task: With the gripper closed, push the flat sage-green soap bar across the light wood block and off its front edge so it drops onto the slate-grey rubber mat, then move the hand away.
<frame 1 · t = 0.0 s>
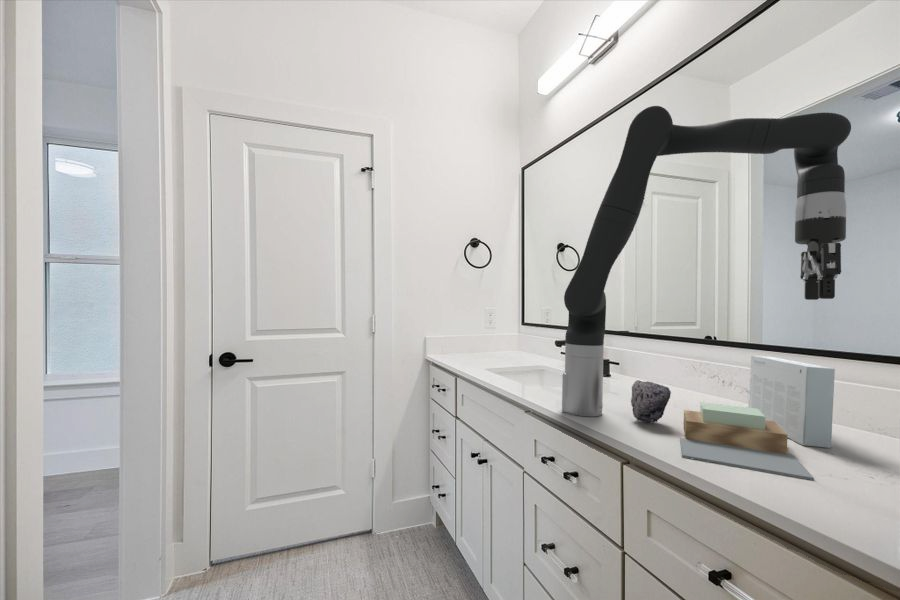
hand: (818, 299, 80), 29 cm above the worktop, tool pointing down, fingers open, 8 cm apart
skincare box: (785, 432, 88), on the worktop
light wood block: (730, 440, 81), on the worktop
soap bar: (730, 421, 81), point 4 cm above the worktop, touching light wood block
mat: (738, 457, 72), on the worktop
pumice stone: (648, 423, 93), on the worktop
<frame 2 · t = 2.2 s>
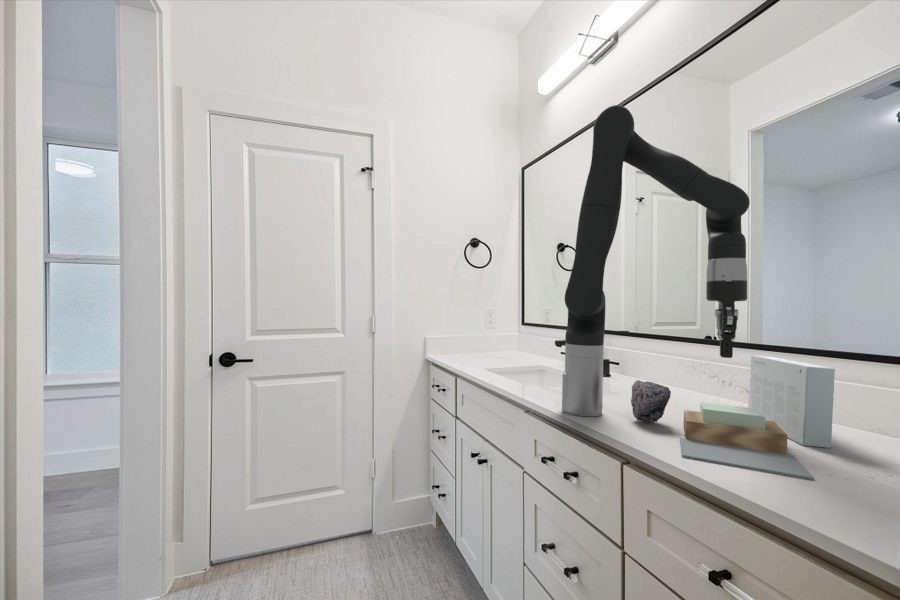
hand: (726, 357, 89), 16 cm above the worktop, tool pointing down, fingers closed
nothing on the worktop moved.
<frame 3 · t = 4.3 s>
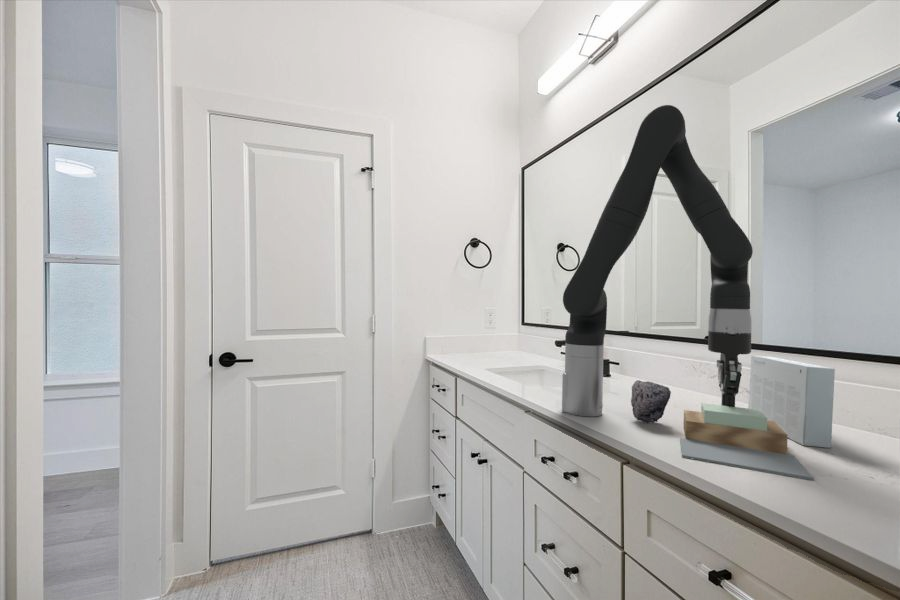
hand: (728, 411, 85), 5 cm above the worktop, tool pointing down, fingers closed
soap bar: (731, 422, 80), point 4 cm above the worktop
everything else where it was.
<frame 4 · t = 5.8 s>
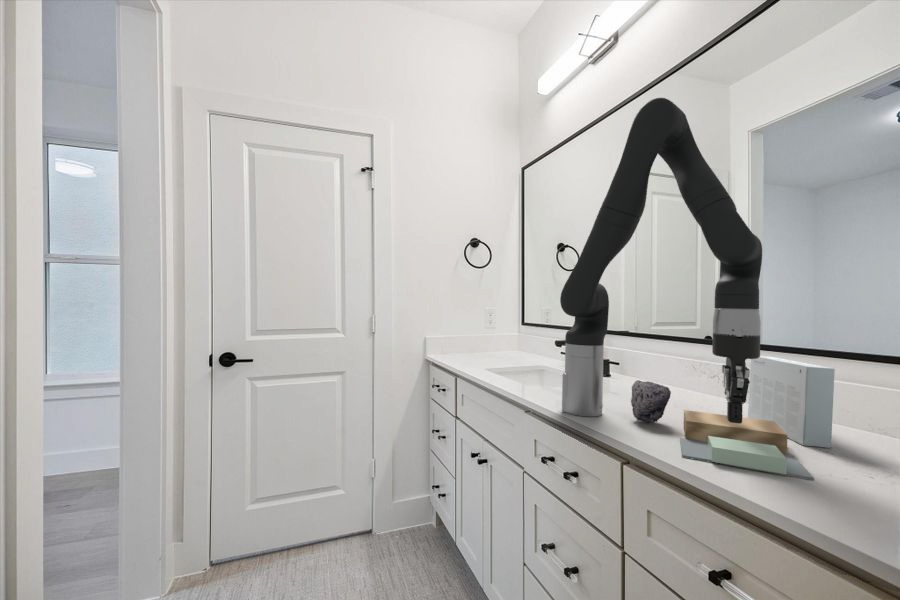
hand: (734, 421, 77), 5 cm above the worktop, tool pointing down, fingers closed
soap bar: (744, 446, 69), point 3 cm above the worktop, tilted 180°, touching mat
everything else where it was.
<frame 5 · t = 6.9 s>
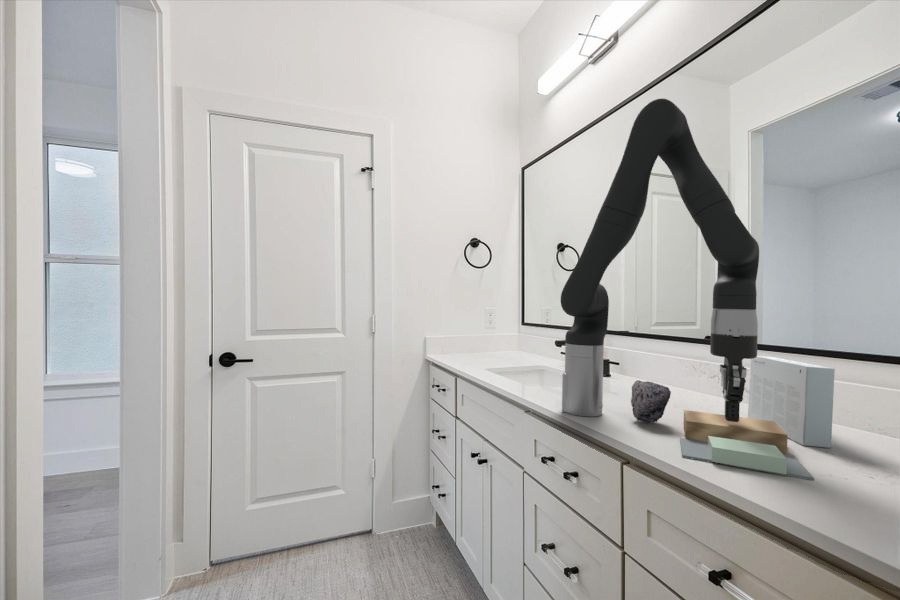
hand: (731, 420, 78), 5 cm above the worktop, tool pointing down, fingers closed
nothing on the worktop moved.
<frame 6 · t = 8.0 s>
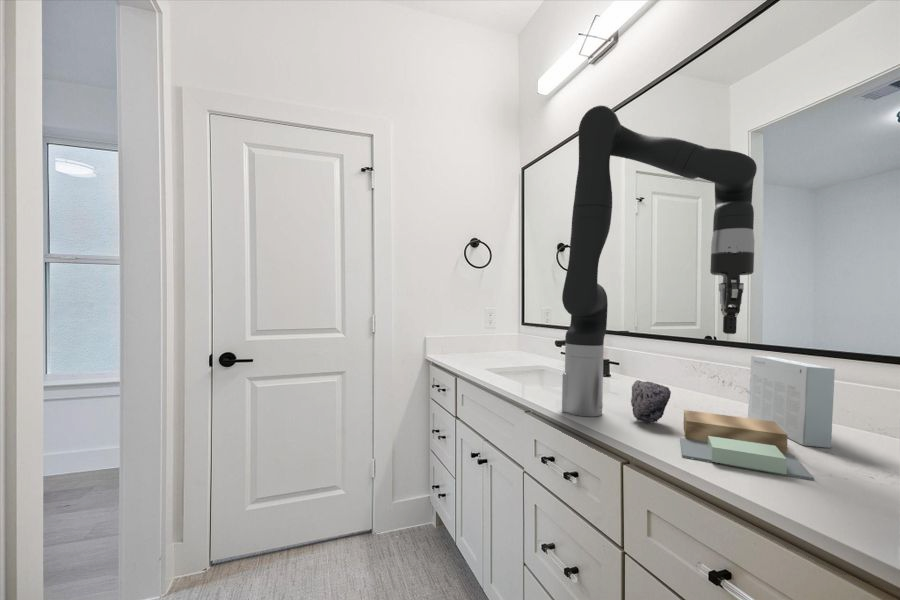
hand: (729, 333, 85), 22 cm above the worktop, tool pointing down, fingers closed
nothing on the worktop moved.
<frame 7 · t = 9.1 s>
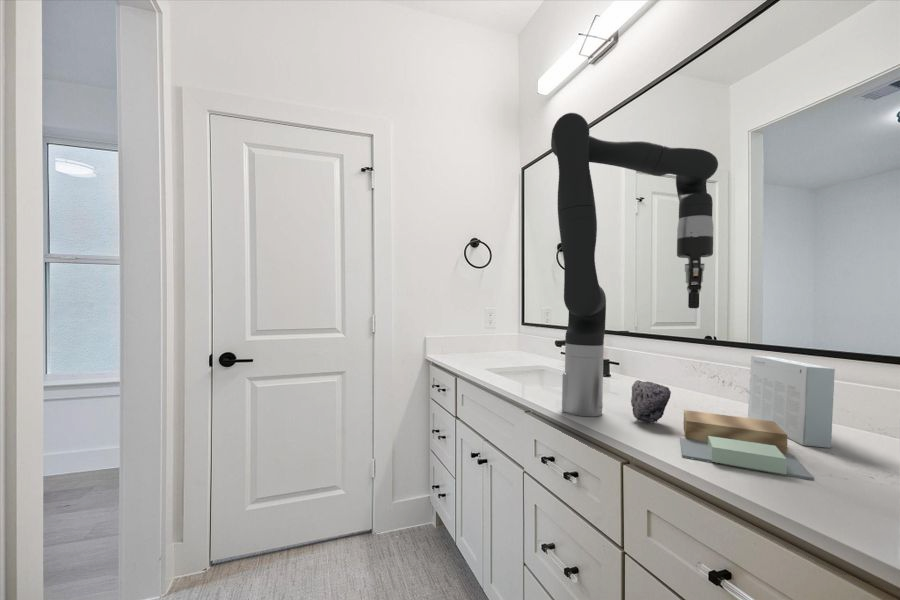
hand: (693, 308, 97), 27 cm above the worktop, tool pointing down, fingers closed
nothing on the worktop moved.
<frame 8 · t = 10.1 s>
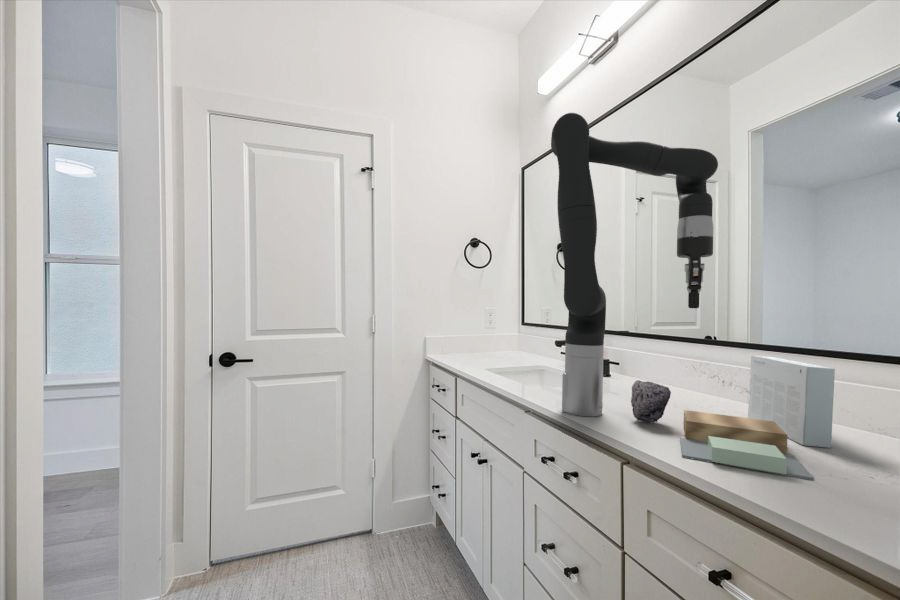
hand: (693, 308, 97), 27 cm above the worktop, tool pointing down, fingers closed
nothing on the worktop moved.
at the end: soap bar inside the target area on the mat (2.8 cm from its centre), point 2.9 cm above the mat's base; soap bar touching mat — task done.
